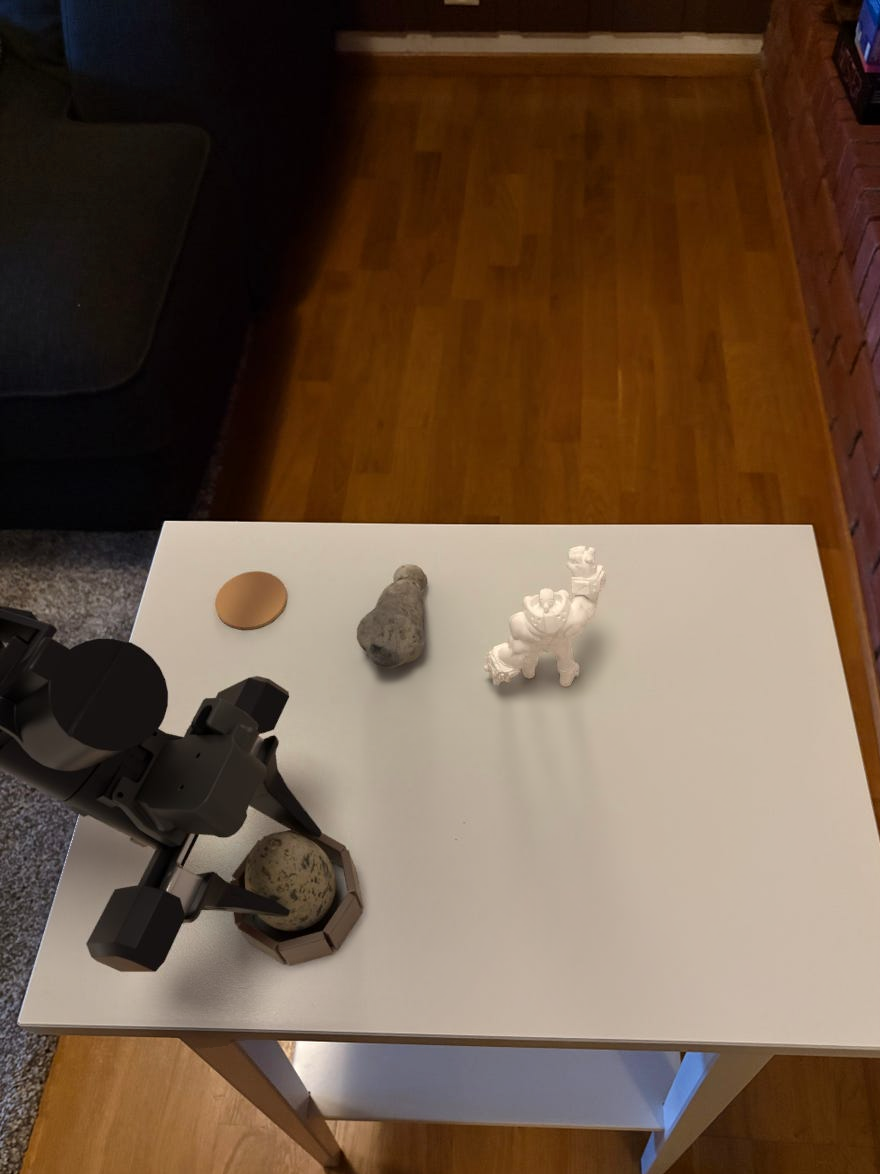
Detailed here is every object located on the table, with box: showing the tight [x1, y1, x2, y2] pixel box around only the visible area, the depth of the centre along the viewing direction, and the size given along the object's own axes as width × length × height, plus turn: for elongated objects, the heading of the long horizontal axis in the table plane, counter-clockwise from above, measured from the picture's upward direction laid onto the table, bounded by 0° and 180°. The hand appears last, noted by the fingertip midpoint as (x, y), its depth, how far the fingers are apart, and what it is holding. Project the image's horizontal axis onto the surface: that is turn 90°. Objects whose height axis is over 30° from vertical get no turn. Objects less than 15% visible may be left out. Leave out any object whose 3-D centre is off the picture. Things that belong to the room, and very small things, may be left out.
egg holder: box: [229, 829, 364, 966], centre depth 64 cm, size 8×8×4 cm
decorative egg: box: [245, 831, 337, 932], centre depth 61 cm, size 6×6×10 cm
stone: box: [356, 563, 428, 669], centre depth 77 cm, size 10×5×8 cm
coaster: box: [214, 570, 288, 631], centre depth 81 cm, size 6×6×1 cm
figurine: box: [483, 545, 607, 688], centre depth 71 cm, size 10×5×12 cm, turn 120°
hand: (302, 874), depth 59 cm, fingers closed on decorative egg, 5 cm apart
